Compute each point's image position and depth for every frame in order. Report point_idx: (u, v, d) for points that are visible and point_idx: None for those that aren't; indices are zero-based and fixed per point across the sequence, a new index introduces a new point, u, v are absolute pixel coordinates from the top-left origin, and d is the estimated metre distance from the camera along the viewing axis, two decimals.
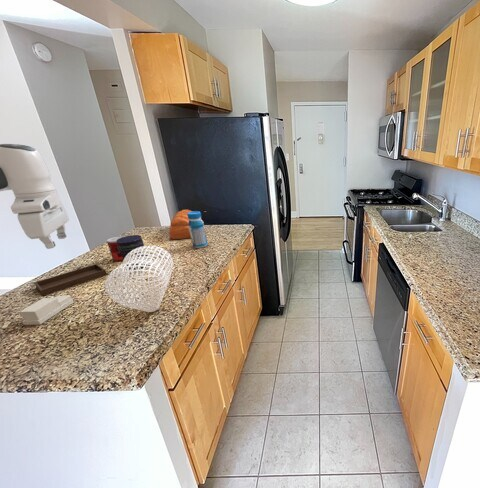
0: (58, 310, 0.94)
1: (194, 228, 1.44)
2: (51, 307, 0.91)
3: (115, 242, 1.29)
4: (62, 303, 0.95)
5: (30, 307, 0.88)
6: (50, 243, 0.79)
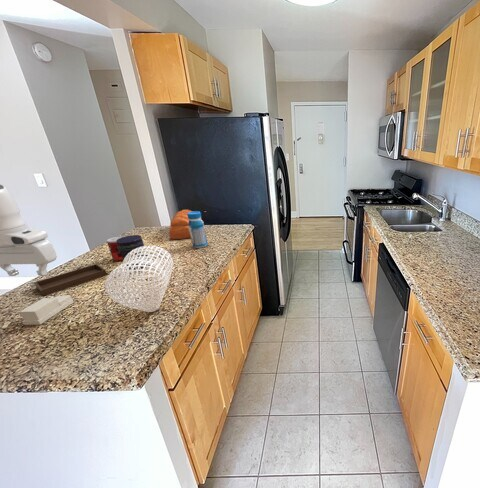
0: (58, 310, 0.94)
1: (194, 228, 1.44)
2: (51, 307, 0.91)
3: (115, 242, 1.29)
4: (62, 303, 0.95)
5: (30, 307, 0.88)
6: (45, 269, 0.86)
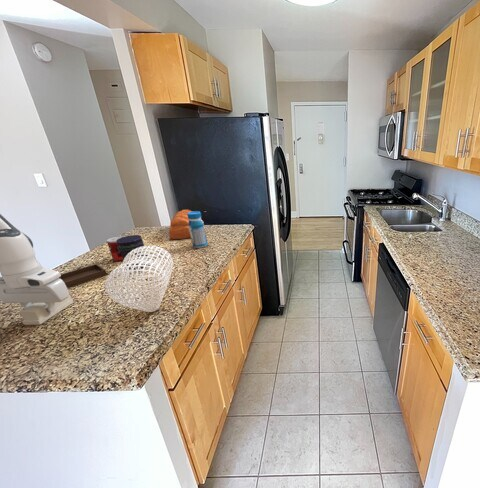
0: (58, 310, 0.94)
1: (194, 228, 1.44)
2: None
3: (115, 242, 1.29)
4: (62, 303, 0.95)
5: (30, 307, 0.88)
6: (53, 306, 0.91)
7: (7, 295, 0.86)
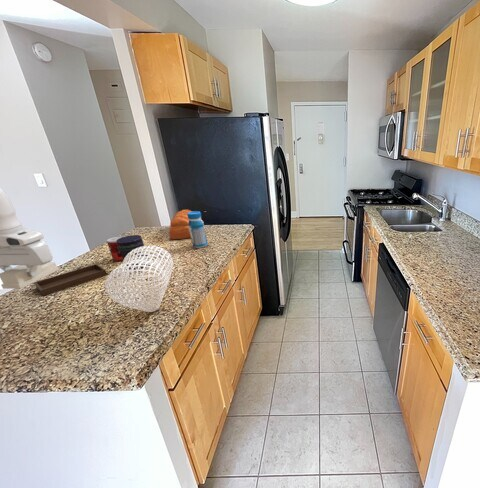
0: (41, 276, 0.88)
1: (194, 228, 1.44)
2: None
3: (115, 242, 1.29)
4: (45, 269, 0.90)
5: (10, 270, 0.83)
6: (35, 270, 0.85)
7: None
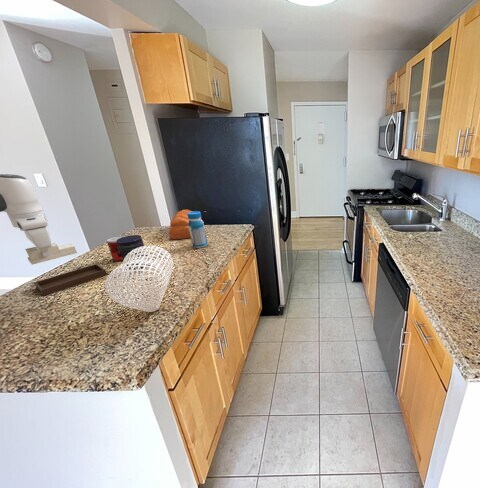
0: (56, 256, 1.01)
1: (194, 228, 1.44)
2: None
3: (115, 242, 1.29)
4: (63, 251, 1.03)
5: (34, 247, 0.99)
6: (47, 251, 0.98)
7: (25, 233, 1.00)
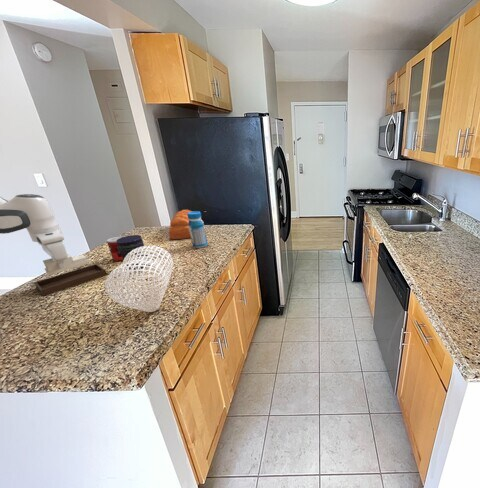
0: (70, 267, 1.11)
1: (194, 228, 1.44)
2: None
3: (115, 242, 1.29)
4: (76, 262, 1.12)
5: (51, 259, 1.08)
6: (62, 263, 1.08)
7: (42, 246, 1.09)
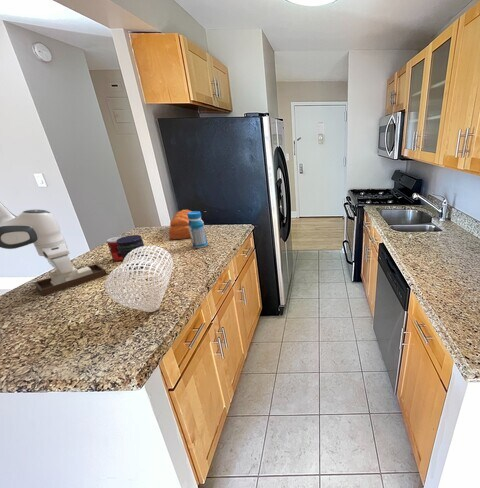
0: None
1: (194, 228, 1.44)
2: None
3: (115, 242, 1.29)
4: (81, 274, 1.15)
5: (56, 272, 1.11)
6: (69, 277, 1.09)
7: (48, 259, 1.11)
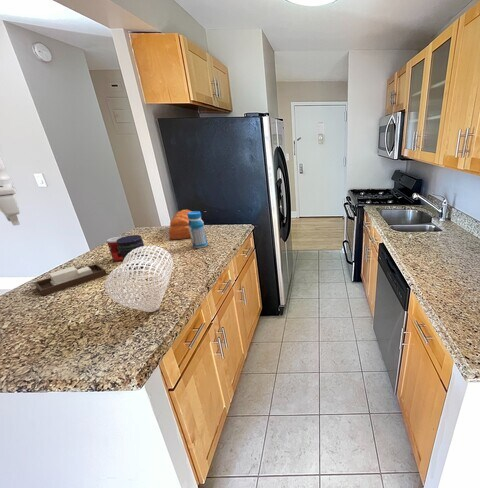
0: None
1: (194, 228, 1.44)
2: (69, 275, 1.11)
3: (115, 242, 1.29)
4: (81, 274, 1.15)
5: (56, 272, 1.11)
6: (16, 220, 1.01)
7: None
